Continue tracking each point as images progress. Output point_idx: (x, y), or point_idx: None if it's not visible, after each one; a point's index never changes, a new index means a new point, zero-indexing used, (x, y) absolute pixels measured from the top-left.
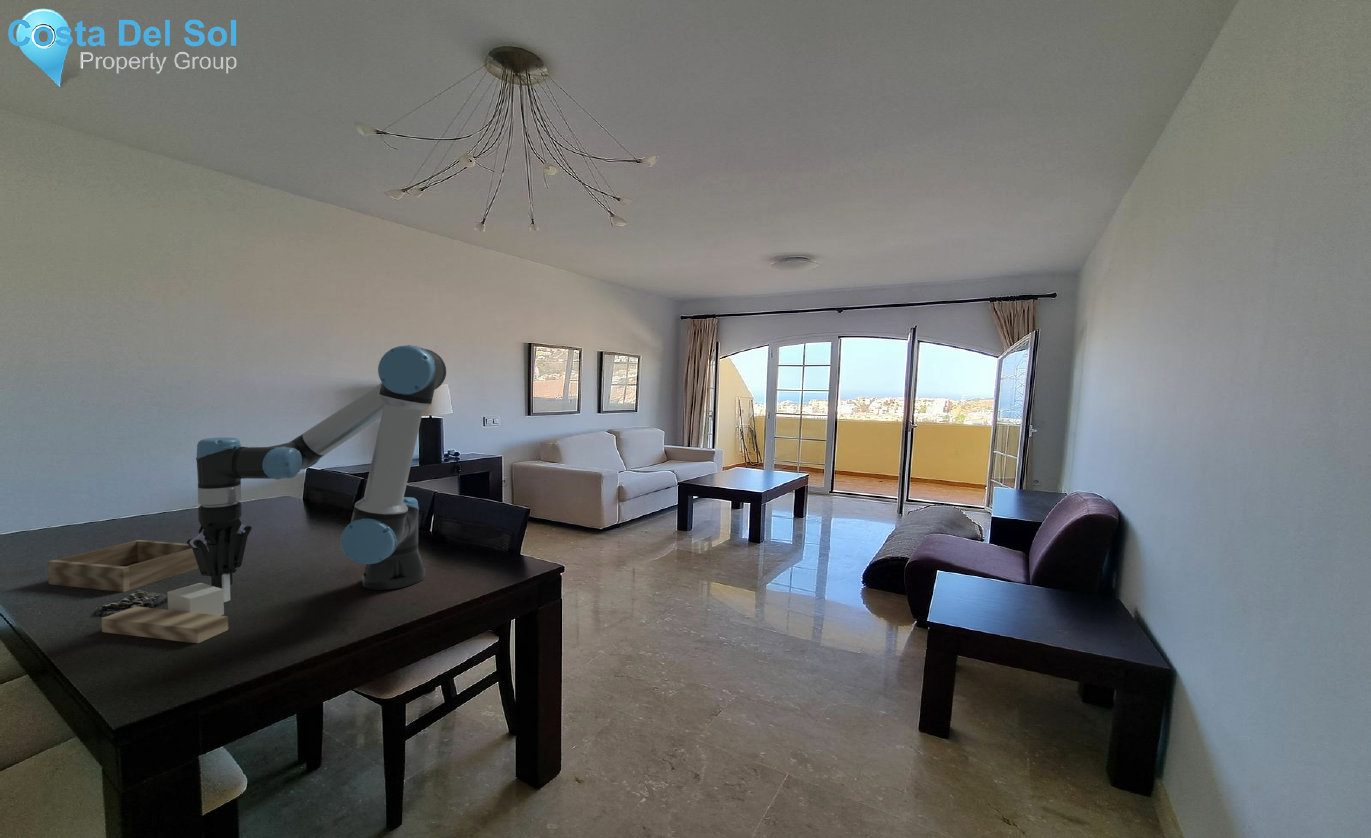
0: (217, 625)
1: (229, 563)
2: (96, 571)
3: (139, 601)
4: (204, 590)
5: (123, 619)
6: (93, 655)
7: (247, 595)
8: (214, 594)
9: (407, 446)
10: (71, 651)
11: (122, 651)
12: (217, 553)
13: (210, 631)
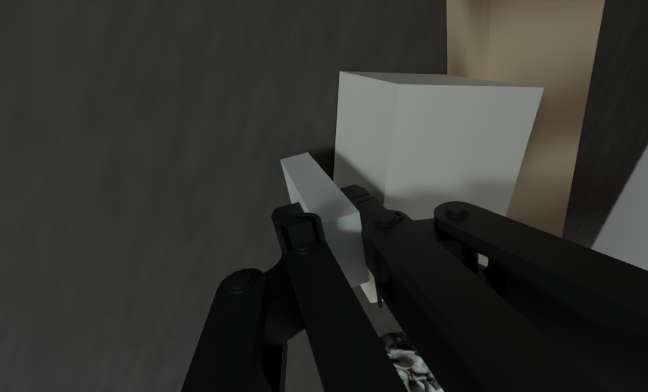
0: None
1: (341, 281)
2: None
3: (422, 361)
4: (441, 163)
5: (559, 219)
6: (631, 99)
7: (169, 226)
8: (432, 83)
9: None
10: (608, 179)
11: (615, 50)
12: (572, 360)
13: None
